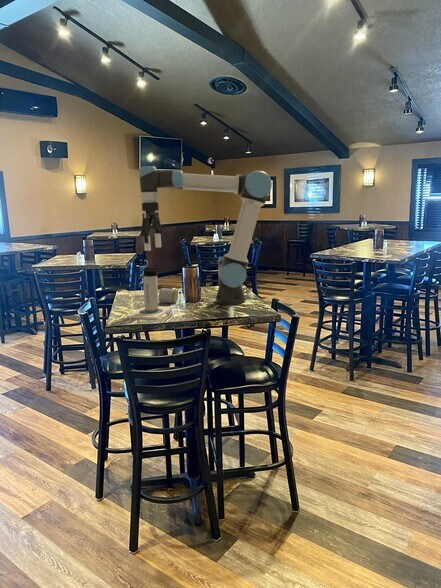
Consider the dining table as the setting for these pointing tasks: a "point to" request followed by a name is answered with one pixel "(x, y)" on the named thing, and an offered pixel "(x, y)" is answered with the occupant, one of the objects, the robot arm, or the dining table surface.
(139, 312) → the beige plate with hole
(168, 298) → the ceramic mug
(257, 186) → the robot arm
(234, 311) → the dining table surface
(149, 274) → the travel mug
